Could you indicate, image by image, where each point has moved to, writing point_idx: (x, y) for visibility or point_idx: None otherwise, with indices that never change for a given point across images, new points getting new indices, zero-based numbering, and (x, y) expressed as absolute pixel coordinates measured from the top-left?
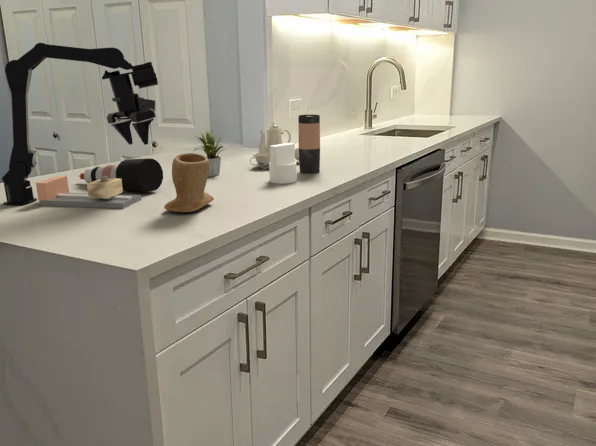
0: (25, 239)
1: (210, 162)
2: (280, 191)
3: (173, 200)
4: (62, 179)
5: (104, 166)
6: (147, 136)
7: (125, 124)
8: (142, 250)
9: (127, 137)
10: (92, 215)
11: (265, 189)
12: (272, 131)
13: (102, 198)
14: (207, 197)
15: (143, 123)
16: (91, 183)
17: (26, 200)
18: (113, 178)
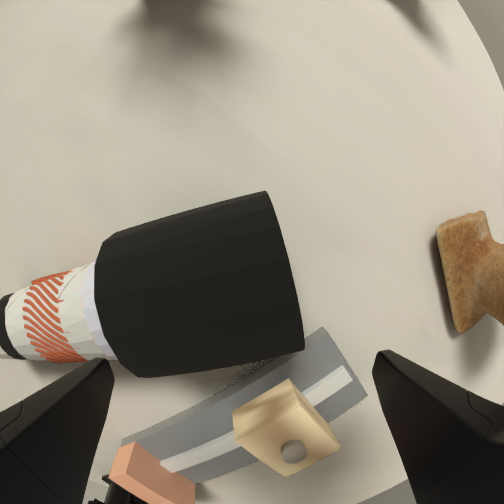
0: (370, 492)
1: None
2: (456, 50)
3: (468, 310)
4: (143, 481)
5: (25, 344)
6: (436, 384)
7: (15, 500)
8: (495, 394)
9: (89, 424)
10: (350, 440)
11: (431, 43)
12: None
13: None
14: (490, 233)
15: (502, 480)
16: (291, 470)
17: None
18: (274, 422)
